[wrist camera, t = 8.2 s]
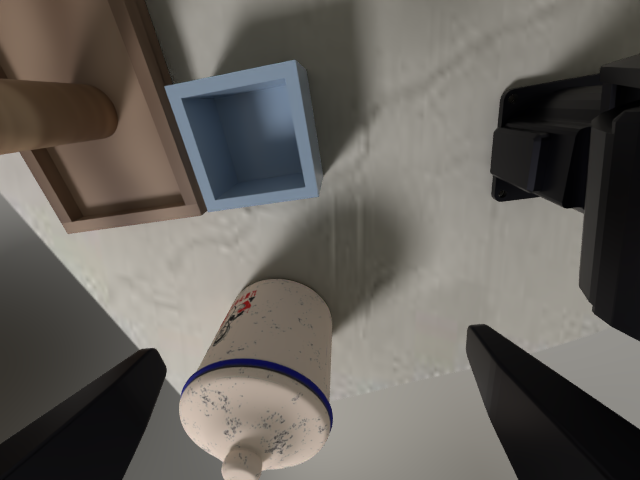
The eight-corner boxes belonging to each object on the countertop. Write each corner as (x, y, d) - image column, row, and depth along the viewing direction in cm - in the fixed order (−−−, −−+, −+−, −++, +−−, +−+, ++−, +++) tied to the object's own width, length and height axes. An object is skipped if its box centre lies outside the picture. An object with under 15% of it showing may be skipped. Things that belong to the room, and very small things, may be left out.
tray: (126, -55, 15) (95, -77, 13) (213, 205, 20) (201, 215, 19) (-36, -9, 16) (-84, -24, 14) (90, 223, 22) (67, 233, 20)
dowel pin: (103, 79, 16) (-184, 53, 7) (126, 134, 18) (-96, 168, 9) (57, 89, 17) (-268, 75, 8) (83, 142, 18) (-172, 182, 9)
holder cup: (306, 69, 16) (295, 59, 12) (323, 176, 19) (318, 196, 15) (205, 90, 17) (164, 86, 13) (235, 189, 20) (208, 212, 16)
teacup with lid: (240, 259, 22) (152, 399, 12) (350, 293, 23) (359, 453, 13) (217, 361, 27) (141, 521, 17) (307, 386, 28) (288, 554, 18)
